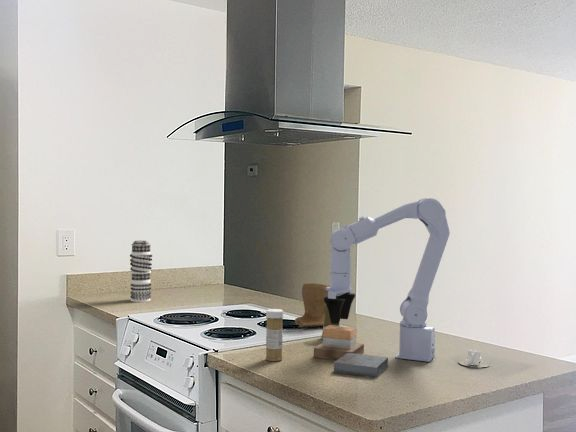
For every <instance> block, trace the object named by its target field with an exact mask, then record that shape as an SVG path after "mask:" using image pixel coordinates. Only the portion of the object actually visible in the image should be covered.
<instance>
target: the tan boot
mask: <svg viewBox="0 0 576 432" xmlns="http://www.w3.org/2000/svg"><path fill="white" fill-rule="evenodd" d="M326 287H330V283H321V282H305V283H303V284H302V286H301V297H302V301H303V307H304V314H302V316H299V317H296V318H295V319H294V322H295V325H296V324H297V325H299V327H298V328H300V329H301V328H303V329H304V328H306V329H307V328H317V327H323V325H324V319H325V312H324V310H323V309H324V305H325V304H326V303H325V302H324V297H328V291H329V290H326ZM297 325H296V326H297Z"/></svg>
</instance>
